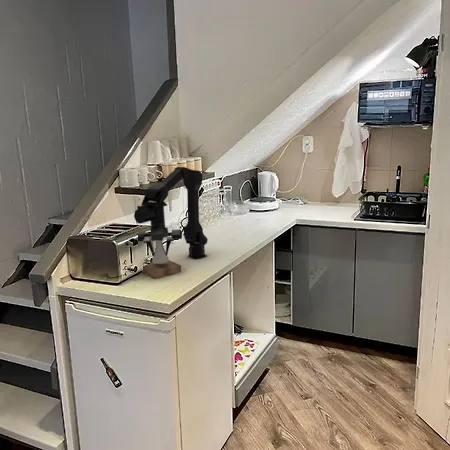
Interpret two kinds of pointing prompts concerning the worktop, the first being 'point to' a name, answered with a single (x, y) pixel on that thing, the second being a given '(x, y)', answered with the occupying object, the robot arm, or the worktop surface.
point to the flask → (159, 254)
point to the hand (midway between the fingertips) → (160, 255)
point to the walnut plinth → (161, 269)
